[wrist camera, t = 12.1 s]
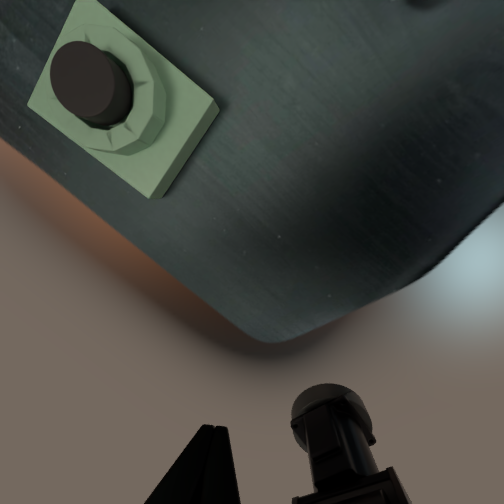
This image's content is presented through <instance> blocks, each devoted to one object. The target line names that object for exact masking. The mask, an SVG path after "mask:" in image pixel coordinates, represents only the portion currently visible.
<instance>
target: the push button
mask: <svg viewBox="0 0 504 504" xmlns="http://www.w3.org/2000/svg"><path fill="white" fill-rule="evenodd" d="M50 81H51V86H52V89H53V91H54V94H55V96H56V97H57V99H58V100H59V102H60V103H61V104H62V105H63V107H64V108H66V109H67V110H68V111H69V112H71V113H72V114H74V115H76V116H79V117H81V118H84V119H86V120H88V121H91V122H93V123H96V124H98V125H103V126H109V125H114V124H116V123H118V122H120V121H121V120H122V119H124V117H125V116H126V115H127V113H128V112H129V110H130V107H131V102H132V90H131V86H130V82H129V80H128V78H127V76H126V74H125V73H124V71H123V70H122V69H121V68H120V67H119V66H118V65H117V64H116V63H115V62H114V61H112V60H111V59H110V58H109V57H108V56H107V55H106V54H104V53H103V52H102V51H101V50H100V49H99V48H97V47H96V46H94V45H92V44H90V43H88V42H83V41H72V42H68V43H66V44H64V45H63V46H61V47H60V48H59V49H58V50H57V52H56V53H55V55H54V57H53V59H52V62H51V66H50Z"/></svg>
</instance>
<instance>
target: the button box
mask: <svg viewBox="0 0 504 504" xmlns="http://www.w3.org/2000/svg"><path fill="white" fill-rule="evenodd" d="M72 41H83V42H88V43H90V44H92V45H94V46H96V47H97V48H99V49H100V50H101V51H102V52H103V53H104V54H106V55H107V56H108V57H109V58H110V59H111V60H112V61H114V62H115V63H116V64H117V65H118V66H119V67H120V68H121V69H122V70H123V71H124V73H125V74H126V76H127V78H128V80H129V82H130V86H131V90H132V102H131V107H130V110H129V112H128V113H127V115H126V116H125V117H124V119H122V120H121V121H120V122H118V123H116V124H114V125H109V126H103V125H98V124H96V123H93V122H91V121H88V120H86V119H84V118H81V117H79V116H76V115H74V114H72V113H71V112H69V111H68V110H67V109H66V108H64V107H63V105H62V104H61V103H60V102H59V100H58V99H57V97H56V96H55V94H54V91H53V89H52V86H51V81H50V66H51V62H52V59H53V57H54V55H55V53H56V52H57V50H58V49H59V48H60V47H61V46H63V45H64V44H66V43H68V42H72ZM27 106H28V107H30V108H31V109H32V110H33V111H35V112H36V113H37V114H39V115H40V116H41V117H43V118H44V119H45V120H46V121H48V122H49V123H50V124H52V125H53V126H54V127H56V128H57V129H58V130H59V131H61V132H62V133H63V134H65V135H66V136H67V137H69V138H70V139H71V140H72V141H74V142H75V143H76V144H78V145H79V146H80V147H82V148H83V149H84V150H86V151H87V152H88V153H89V154H91V155H92V156H93V157H95V158H96V159H97V160H99V161H100V162H101V163H102V164H104V165H105V166H106V167H108V168H109V169H110V170H112V171H113V172H114V173H115V174H117V175H118V176H119V177H121V178H122V179H123V180H125V181H126V182H127V183H128V184H130V185H131V186H132V187H134V188H135V189H136V190H138V191H139V192H140V193H141V194H143V195H144V196H145V197H147V198H148V199H160V198H162V197H163V195H164V194H165V192H166V191H167V189H168V188H169V186H170V185H171V183H172V182H173V180H174V179H175V177H176V176H177V174H178V173H179V171H180V170H181V168H182V167H183V165H184V164H185V162H186V161H187V159H188V158H189V156H190V155H191V153H192V152H193V150H194V149H195V147H196V146H197V144H198V143H199V141H200V140H201V138H202V137H203V135H204V134H205V132H206V131H207V129H208V128H209V126H210V125H211V123H212V122H213V120H214V119H215V117H216V116H217V114H218V113H219V111H220V110H219V108H218V106H217V104H216V103H215V101H214V99H213V98H212V97H211V96H210V95H208V94H207V93H206V92H205V91H204V90H203V89H201V88H200V87H199V86H198V85H197V84H195V83H194V82H193V81H192V80H191V79H189V78H188V77H187V76H186V75H185V74H184V73H182V72H181V71H180V70H179V69H178V68H176V67H175V66H174V65H173V64H172V63H170V62H169V61H168V60H167V59H166V58H164V57H163V56H162V55H161V54H160V53H159V52H157V51H156V50H155V49H154V48H153V47H151V46H150V45H149V44H148V43H147V42H145V41H144V40H143V39H142V38H141V37H140V36H138V35H137V34H136V33H135V32H134V31H132V30H131V29H130V28H129V27H128V26H126V25H125V24H124V23H123V22H122V21H120V20H119V19H118V18H117V17H116V16H115V15H113V14H112V13H111V12H110V11H109V10H107V9H106V8H105V7H104V6H103V5H101V4H100V3H99V2H98V1H97V0H76V1H75V3H74V5H73V7H72V10H71V12H70V14H69V16H68V18H67V20H66V22H65V25H64V27H63V29H62V31H61V33H60V35H59V37H58V40H57V42H56V44H55V46H54V48H53V50H52V52H51V55H50V57H49V59H48V61H47V63H46V65H45V67H44V70H43V72H42V74H41V76H40V78H39V80H38V82H37V85H36V87H35V89H34V91H33V93H32V95H31V97H30V100H29V102H28V104H27Z"/></svg>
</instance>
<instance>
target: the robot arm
mask: <svg viewBox="0 0 504 504" xmlns="http://www.w3.org/2000/svg"><path fill="white" fill-rule="evenodd" d="M341 401H343V402H341ZM291 428H292V429H293V431H294V432H295V433H296V434H297V436H298V437H299V438H300V439H301V441H302V442H303V443H304V445H305V446H306V447H307V450H308V456H309V463H310V469H311V475H312V482H313V488H314V493H312V494H308V495H305V496H302V497H298V496H297V497H294V498H292V504H412V502H411V500H410V499H409V497H408V495H407V493H406V491H405V489H404V487H403V486H402V483H401V482H400V480H399V478H398V476H397V474H396V472H395V470H394V469H393V467H389V468H386V470H385V471H381V472H379V470H378V468H377V465H376V463H375V460H374V458H373V456H372V453H371V451H370V448H369V446H372V445H374V444H375V443H376V439H375V437H374V435H373V434H372V432H371V431H370V429H369V428H368V427H367V425H366V424H365V422H364V421H363V420H362V418H361V417H360V415H359V414H358V413H357V411H356V410H355V408H354V407H353V406H352V404H351V403H350V401H349V400H348V399H347V397H346V396H344V395H341V396H338V397H336V398H334V399H332V400H330V401H328V402H326V403H324V404H322V405H320V406H318V407H316V408H314V409H312V410H310V411H308V412H306V413H304V414H302V415H300V416H298V417H296V418H294V419H292V420H291ZM144 504H241V503H240V497H239V491H238V486H237V479H236V474H235V468H234V462H233V457H232V450H231V445H230V439H229V433H228V428H227V427H224V426H216V427H215V426H213V425H206V424H204V425H202V426H201V427H200V429H199V430H198V431H197V433H196V434H195V436H194V437H193V438H192V440H191V441H190V442H189V444H188V445H187V446H186V448H185V449H184V450H183V452H182V453H181V454H180V456H179V457H178V458H177V460H176V461H175V463H174V464H173V465H172V466H171V468H170V469H169V471H168V472H167V473H166V475H165V476H164V477H163V479H162V480H161V481H160V483H159V484H158V485H157V487H156V488H155V489H154V491H153V492H152V494H151V495H150V496H149V498H148V499H147V500H146V501H145V503H144Z"/></svg>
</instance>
